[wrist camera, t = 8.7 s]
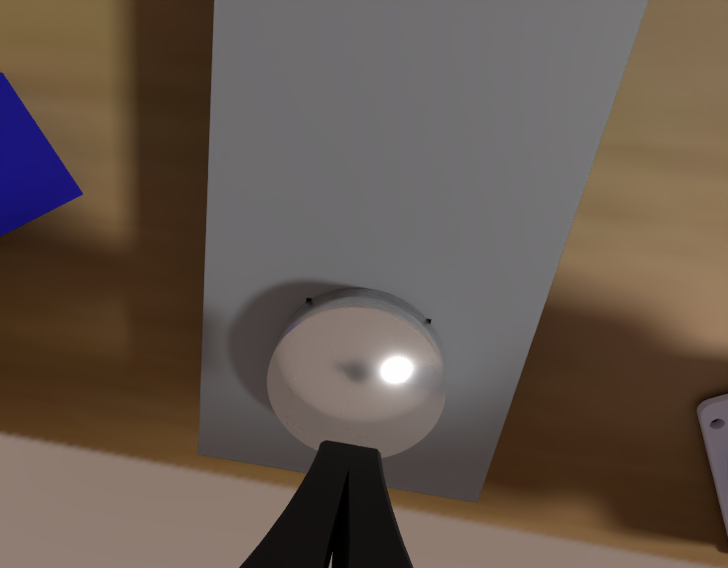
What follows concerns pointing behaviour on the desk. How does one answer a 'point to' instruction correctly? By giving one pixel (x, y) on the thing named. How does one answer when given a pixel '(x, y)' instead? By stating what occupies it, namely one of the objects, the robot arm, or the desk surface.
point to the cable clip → (27, 166)
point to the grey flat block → (397, 195)
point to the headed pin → (358, 372)
